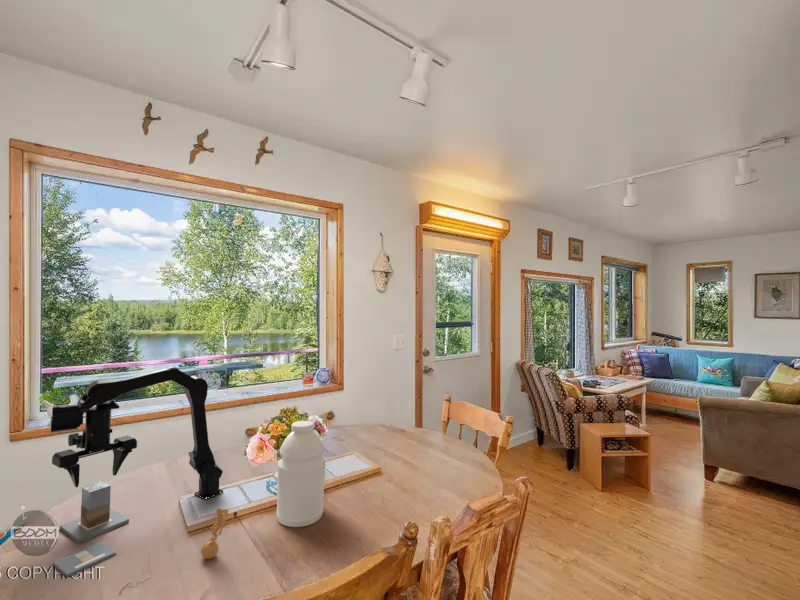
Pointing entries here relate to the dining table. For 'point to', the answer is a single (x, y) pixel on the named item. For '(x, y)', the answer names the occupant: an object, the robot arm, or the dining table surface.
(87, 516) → the walnut cube
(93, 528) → the base plate
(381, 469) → the dining table surface
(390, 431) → the dining table surface
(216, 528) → the figurine
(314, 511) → the bottle
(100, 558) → the board
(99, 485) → the metal cube
